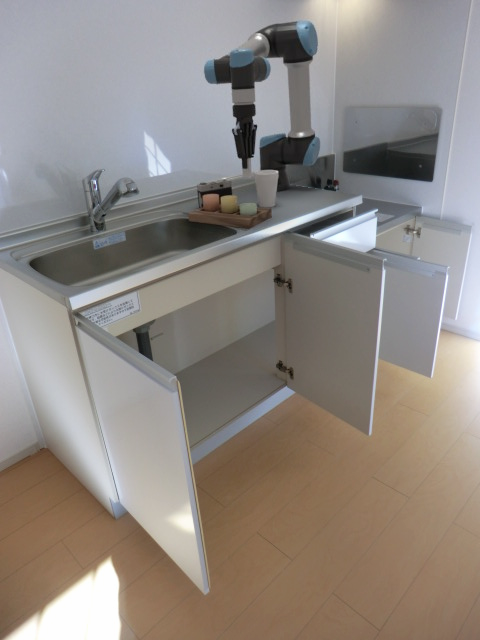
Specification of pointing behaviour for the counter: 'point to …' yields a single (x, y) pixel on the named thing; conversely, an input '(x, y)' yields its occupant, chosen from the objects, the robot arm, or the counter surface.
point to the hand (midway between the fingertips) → (247, 177)
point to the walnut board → (229, 217)
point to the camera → (214, 190)
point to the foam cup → (266, 187)
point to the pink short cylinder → (211, 202)
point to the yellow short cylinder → (229, 204)
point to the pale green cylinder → (248, 209)
